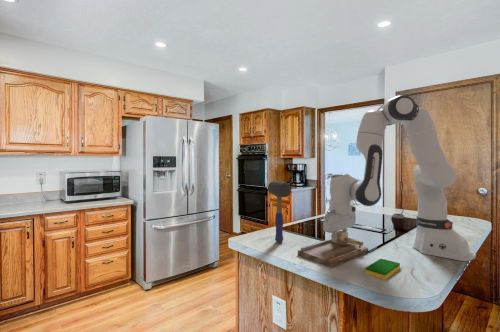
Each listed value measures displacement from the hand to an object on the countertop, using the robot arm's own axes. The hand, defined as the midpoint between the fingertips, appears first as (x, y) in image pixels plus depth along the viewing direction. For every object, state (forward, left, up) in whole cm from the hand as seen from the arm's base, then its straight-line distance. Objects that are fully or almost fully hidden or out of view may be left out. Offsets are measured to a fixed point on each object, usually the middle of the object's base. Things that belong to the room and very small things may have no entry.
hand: (339, 238), depth 127 cm
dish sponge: (-25, +10, -5) cm, 27 cm away
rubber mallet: (+23, +16, -4) cm, 28 cm away
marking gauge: (-4, 0, -2) cm, 4 cm away
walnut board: (-3, +9, -4) cm, 10 cm away
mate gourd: (-1, -57, -4) cm, 57 cm away
